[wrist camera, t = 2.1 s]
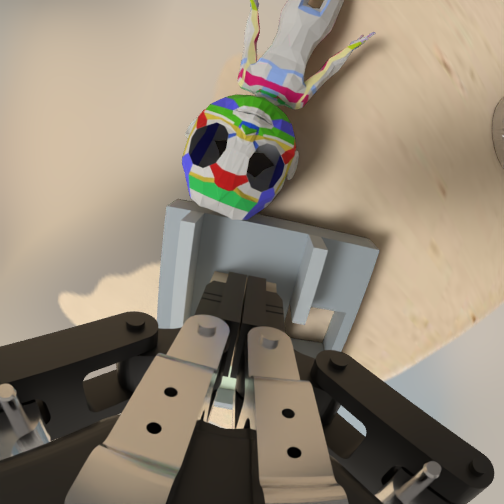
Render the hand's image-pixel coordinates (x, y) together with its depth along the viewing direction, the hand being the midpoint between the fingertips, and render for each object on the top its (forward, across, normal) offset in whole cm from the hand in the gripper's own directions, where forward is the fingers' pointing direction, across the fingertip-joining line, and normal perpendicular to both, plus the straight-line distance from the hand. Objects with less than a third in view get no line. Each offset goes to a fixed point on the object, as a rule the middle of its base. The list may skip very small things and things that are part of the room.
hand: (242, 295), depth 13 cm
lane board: (+14, -2, +9) cm, 17 cm away
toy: (+15, 0, -15) cm, 21 cm away
